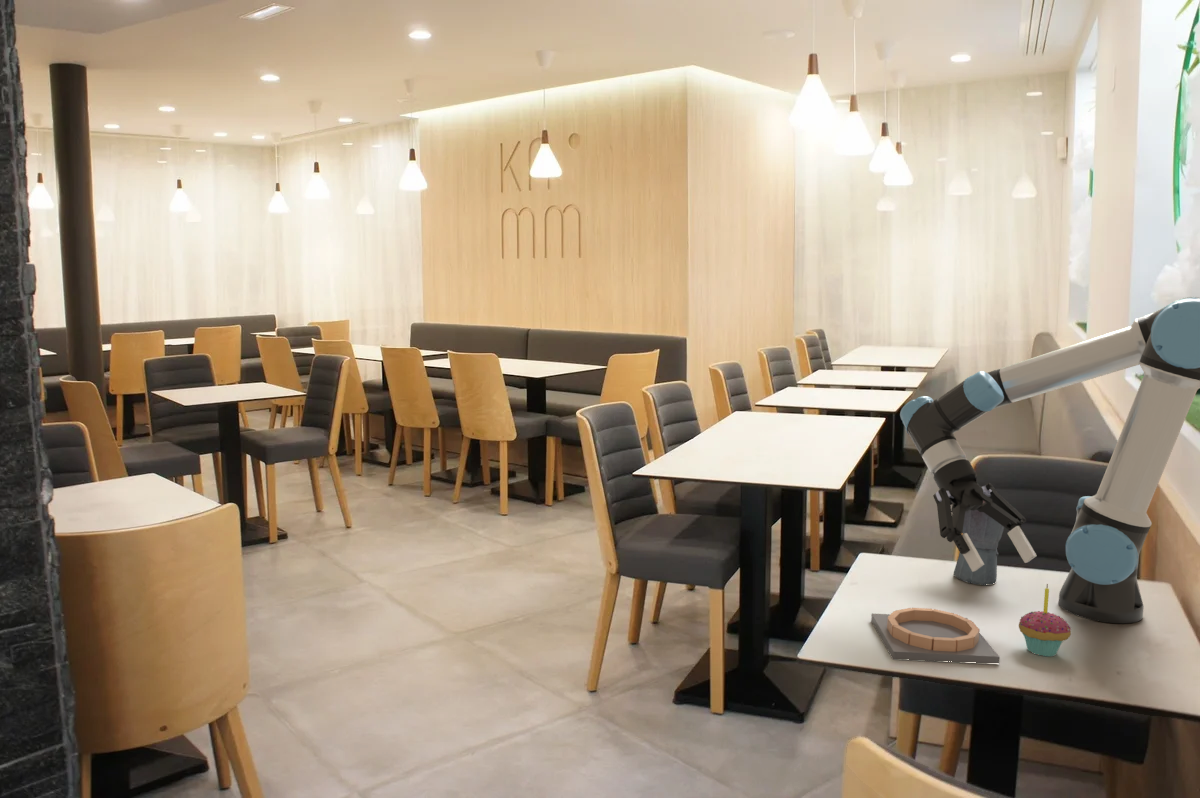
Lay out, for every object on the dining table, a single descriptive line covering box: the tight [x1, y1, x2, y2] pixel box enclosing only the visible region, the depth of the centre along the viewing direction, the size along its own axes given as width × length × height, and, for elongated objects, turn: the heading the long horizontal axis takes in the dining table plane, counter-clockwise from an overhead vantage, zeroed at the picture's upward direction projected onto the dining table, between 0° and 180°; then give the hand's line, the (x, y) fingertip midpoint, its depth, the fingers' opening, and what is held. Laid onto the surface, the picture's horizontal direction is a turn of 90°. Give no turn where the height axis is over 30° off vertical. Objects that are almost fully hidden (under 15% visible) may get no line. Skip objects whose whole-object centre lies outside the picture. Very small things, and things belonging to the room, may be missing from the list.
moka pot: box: [950, 501, 1005, 586], centre depth 207 cm, size 10×15×20 cm, turn 78°
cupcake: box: [1018, 583, 1072, 657], centre depth 169 cm, size 9×8×12 cm
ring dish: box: [870, 607, 1001, 664], centre depth 173 cm, size 18×18×4 cm
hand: (1005, 563), depth 176 cm, fingers open, 13 cm apart
